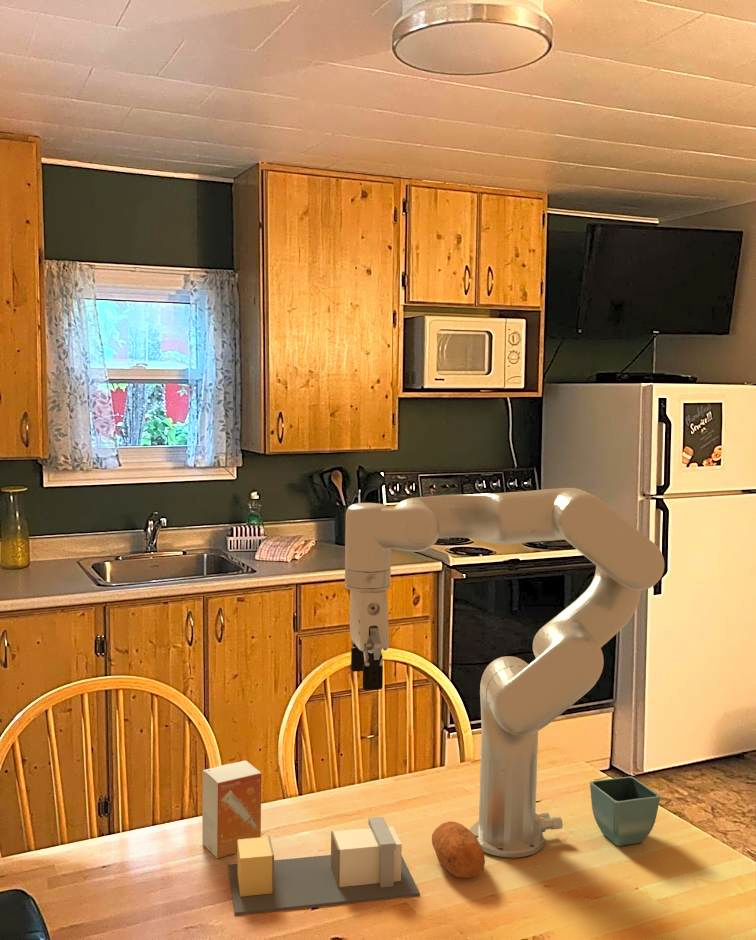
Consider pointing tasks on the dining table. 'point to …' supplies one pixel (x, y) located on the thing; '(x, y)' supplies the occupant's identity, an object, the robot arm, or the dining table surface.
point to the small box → (230, 806)
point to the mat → (314, 887)
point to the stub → (255, 866)
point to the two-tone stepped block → (366, 855)
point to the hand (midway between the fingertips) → (366, 679)
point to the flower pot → (624, 809)
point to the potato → (458, 849)
